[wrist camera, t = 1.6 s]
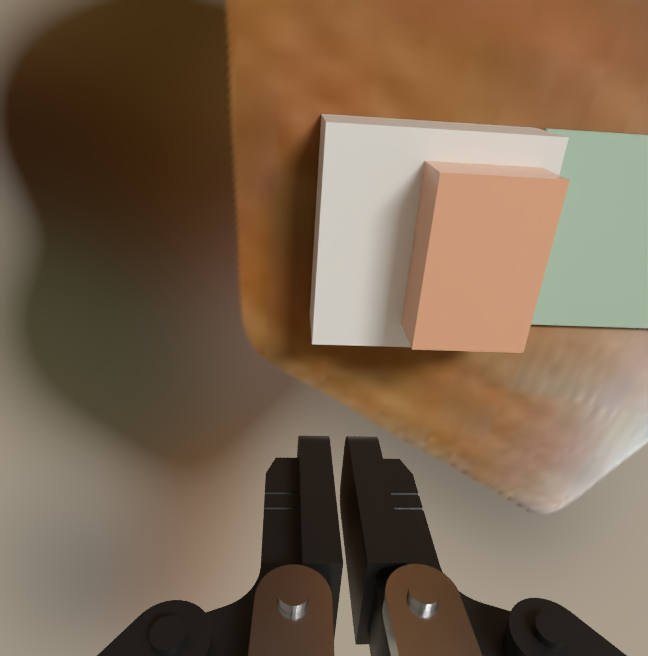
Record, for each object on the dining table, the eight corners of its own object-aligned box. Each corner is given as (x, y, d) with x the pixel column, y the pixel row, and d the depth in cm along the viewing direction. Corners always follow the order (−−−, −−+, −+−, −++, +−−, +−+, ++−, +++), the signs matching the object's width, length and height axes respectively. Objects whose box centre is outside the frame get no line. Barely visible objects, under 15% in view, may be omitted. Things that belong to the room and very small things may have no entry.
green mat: (544, 128, 30) (547, 129, 29) (735, 140, 31) (741, 141, 30) (498, 320, 35) (500, 323, 35) (662, 326, 36) (666, 328, 36)
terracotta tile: (424, 160, 26) (440, 172, 24) (541, 167, 27) (569, 179, 24) (401, 323, 30) (411, 349, 28) (503, 327, 31) (523, 352, 28)
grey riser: (321, 113, 29) (326, 121, 25) (535, 127, 30) (568, 137, 26) (309, 314, 34) (311, 344, 31) (491, 320, 35) (513, 350, 32)
